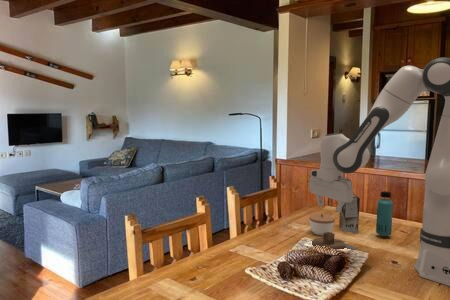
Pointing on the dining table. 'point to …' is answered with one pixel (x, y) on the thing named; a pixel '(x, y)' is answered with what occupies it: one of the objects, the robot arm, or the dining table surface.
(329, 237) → the lid
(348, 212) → the coffee box
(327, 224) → the lidded jar
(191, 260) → the dining table surface
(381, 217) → the beverage bottle
